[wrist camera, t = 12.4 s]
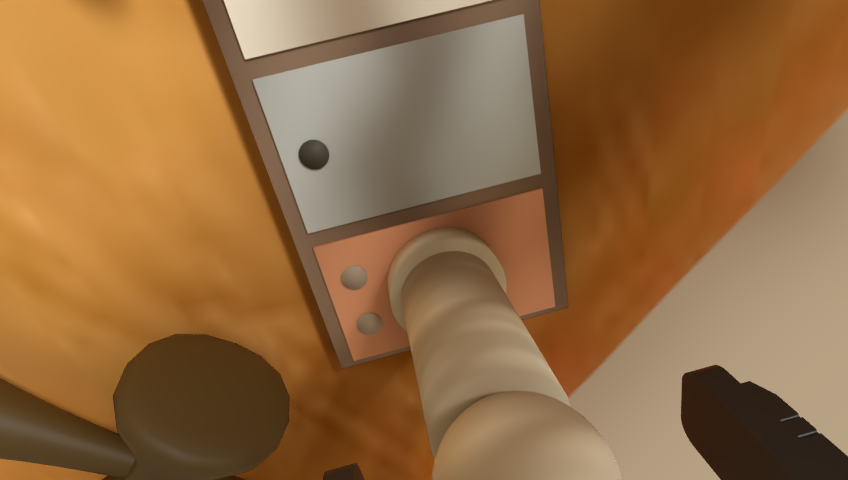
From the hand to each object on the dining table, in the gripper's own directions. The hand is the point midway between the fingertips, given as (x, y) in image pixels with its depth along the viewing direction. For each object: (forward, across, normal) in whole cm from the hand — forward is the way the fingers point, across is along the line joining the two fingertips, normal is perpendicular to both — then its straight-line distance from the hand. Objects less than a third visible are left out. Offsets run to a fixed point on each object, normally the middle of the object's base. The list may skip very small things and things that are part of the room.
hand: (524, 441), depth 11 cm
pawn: (+8, +1, 0) cm, 8 cm away
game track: (+9, 0, -6) cm, 11 cm away
